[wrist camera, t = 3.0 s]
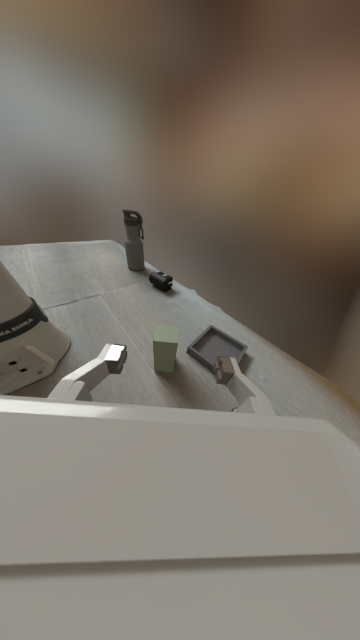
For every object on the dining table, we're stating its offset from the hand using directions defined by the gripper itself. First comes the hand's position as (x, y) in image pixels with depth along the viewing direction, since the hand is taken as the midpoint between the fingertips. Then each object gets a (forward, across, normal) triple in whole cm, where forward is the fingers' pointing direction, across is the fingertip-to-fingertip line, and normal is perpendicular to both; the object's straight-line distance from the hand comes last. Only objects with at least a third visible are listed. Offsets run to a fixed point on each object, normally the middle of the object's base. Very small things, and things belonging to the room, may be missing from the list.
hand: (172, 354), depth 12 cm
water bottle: (+78, -25, -17) cm, 84 cm away
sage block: (+15, 0, -22) cm, 27 cm away
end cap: (+57, -7, -18) cm, 61 cm away
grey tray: (+20, +16, -21) cm, 33 cm away
